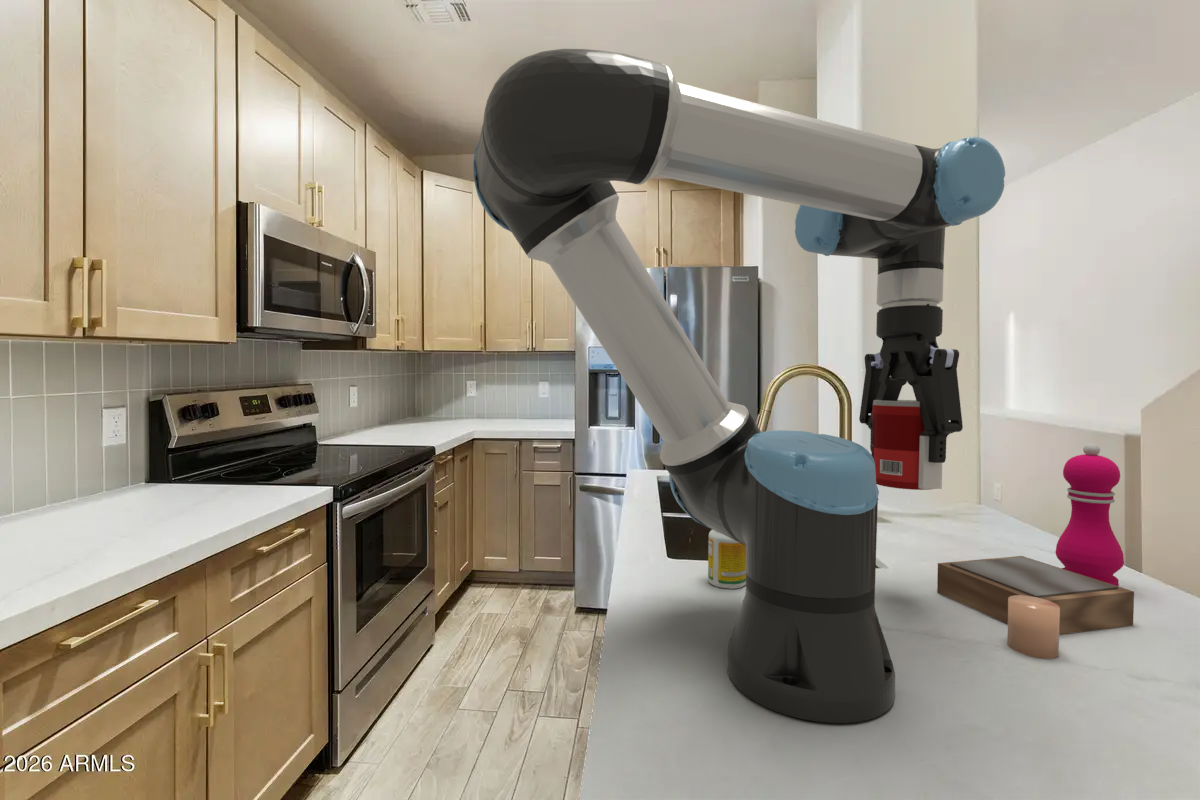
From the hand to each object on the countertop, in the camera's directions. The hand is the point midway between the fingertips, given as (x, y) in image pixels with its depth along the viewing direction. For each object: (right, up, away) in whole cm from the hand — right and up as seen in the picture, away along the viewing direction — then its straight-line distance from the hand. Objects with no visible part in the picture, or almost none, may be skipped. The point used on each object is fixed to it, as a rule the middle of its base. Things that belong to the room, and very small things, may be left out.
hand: (904, 482), depth 75 cm
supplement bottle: (-22, -16, +7) cm, 27 cm away
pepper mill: (+28, -15, +5) cm, 32 cm away
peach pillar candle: (+7, -16, -13) cm, 22 cm away
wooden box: (+14, -16, -2) cm, 21 cm away
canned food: (0, -1, 0) cm, 0 cm away
